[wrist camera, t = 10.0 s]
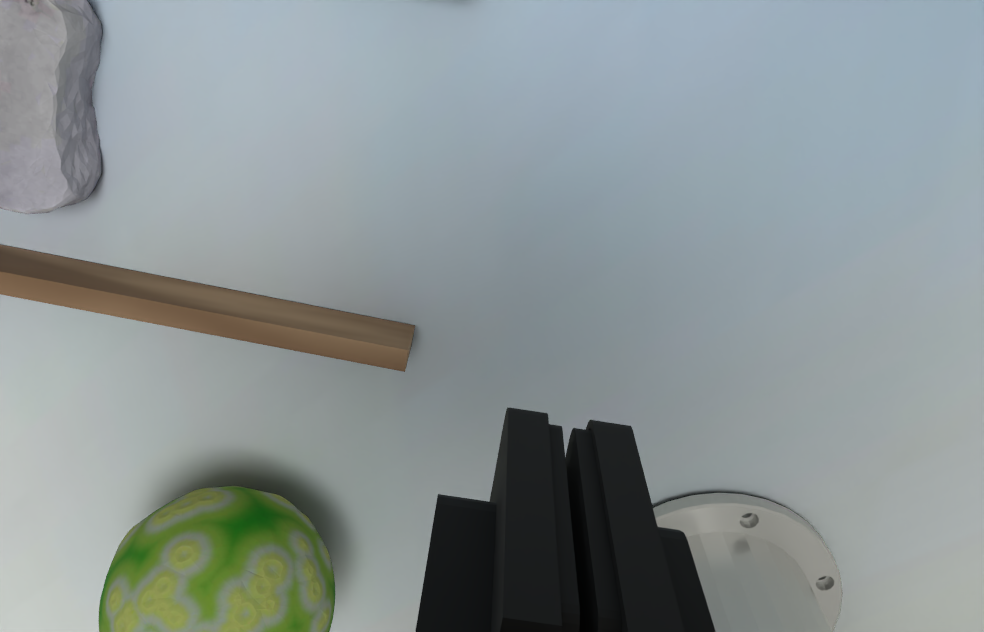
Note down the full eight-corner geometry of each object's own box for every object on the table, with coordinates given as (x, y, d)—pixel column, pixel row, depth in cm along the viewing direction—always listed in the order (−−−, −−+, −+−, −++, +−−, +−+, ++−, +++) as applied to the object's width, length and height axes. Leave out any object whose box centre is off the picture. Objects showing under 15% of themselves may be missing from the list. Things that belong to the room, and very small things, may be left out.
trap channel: (411, 345, 36) (400, 389, 32) (-244, 218, 34) (-334, 249, 31) (509, -179, 28) (509, -201, 24) (-340, -381, 26) (-477, -437, 23)
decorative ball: (340, 438, 38) (288, 589, 29) (363, 603, 42) (324, 782, 33) (133, 444, 38) (16, 596, 29) (175, 608, 42) (84, 786, 33)
